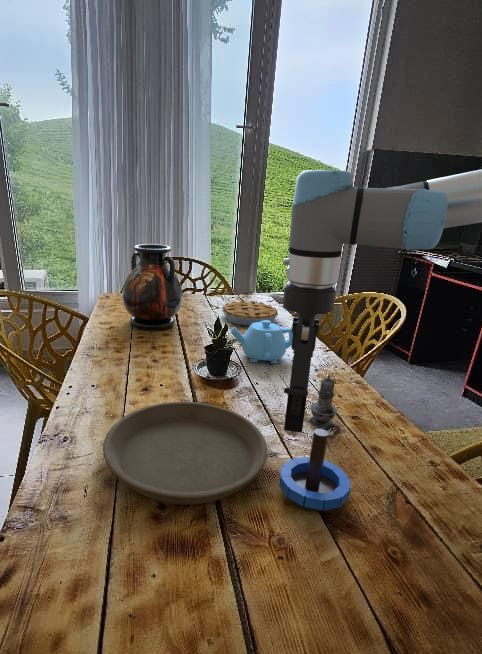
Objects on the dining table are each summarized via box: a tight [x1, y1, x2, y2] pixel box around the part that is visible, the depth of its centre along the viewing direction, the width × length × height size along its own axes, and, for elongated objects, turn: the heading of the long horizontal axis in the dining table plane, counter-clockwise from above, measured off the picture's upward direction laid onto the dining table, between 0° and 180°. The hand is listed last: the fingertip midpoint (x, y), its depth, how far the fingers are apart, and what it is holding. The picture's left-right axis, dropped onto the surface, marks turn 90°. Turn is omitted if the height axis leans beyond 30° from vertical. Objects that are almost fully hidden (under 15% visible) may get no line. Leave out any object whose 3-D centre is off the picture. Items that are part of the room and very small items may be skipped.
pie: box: [221, 300, 279, 327], centre depth 173 cm, size 22×22×5 cm
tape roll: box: [278, 456, 352, 510], centre depth 78 cm, size 12×12×2 cm
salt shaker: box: [309, 374, 338, 430], centre depth 99 cm, size 6×6×12 cm
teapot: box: [229, 320, 293, 364], centre depth 135 cm, size 20×17×12 cm
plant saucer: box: [102, 401, 268, 506], centre depth 85 cm, size 31×31×5 cm
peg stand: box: [283, 428, 341, 516], centre depth 76 cm, size 9×9×12 cm
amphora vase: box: [121, 243, 183, 331], centre depth 157 cm, size 22×22×28 cm
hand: (295, 409), depth 74 cm, fingers open, 13 cm apart
